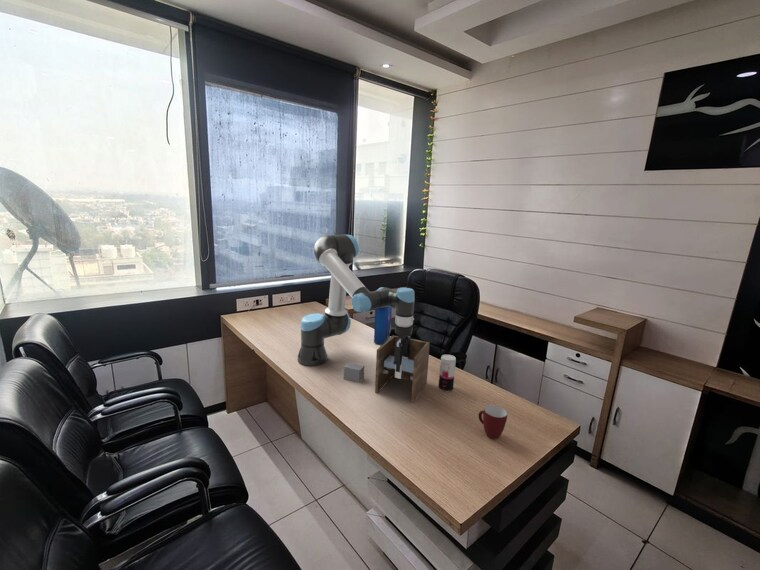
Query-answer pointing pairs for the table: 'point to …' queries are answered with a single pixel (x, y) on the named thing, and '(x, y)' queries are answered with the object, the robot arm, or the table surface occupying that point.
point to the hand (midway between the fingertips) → (401, 374)
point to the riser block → (353, 372)
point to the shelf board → (406, 363)
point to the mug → (493, 420)
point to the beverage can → (447, 372)
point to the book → (382, 324)
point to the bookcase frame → (419, 375)
